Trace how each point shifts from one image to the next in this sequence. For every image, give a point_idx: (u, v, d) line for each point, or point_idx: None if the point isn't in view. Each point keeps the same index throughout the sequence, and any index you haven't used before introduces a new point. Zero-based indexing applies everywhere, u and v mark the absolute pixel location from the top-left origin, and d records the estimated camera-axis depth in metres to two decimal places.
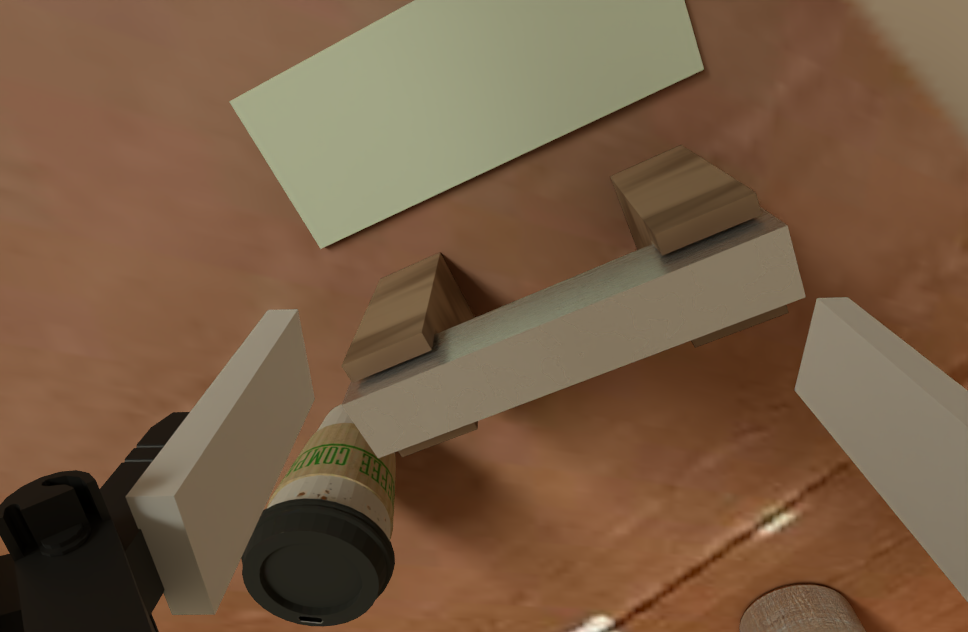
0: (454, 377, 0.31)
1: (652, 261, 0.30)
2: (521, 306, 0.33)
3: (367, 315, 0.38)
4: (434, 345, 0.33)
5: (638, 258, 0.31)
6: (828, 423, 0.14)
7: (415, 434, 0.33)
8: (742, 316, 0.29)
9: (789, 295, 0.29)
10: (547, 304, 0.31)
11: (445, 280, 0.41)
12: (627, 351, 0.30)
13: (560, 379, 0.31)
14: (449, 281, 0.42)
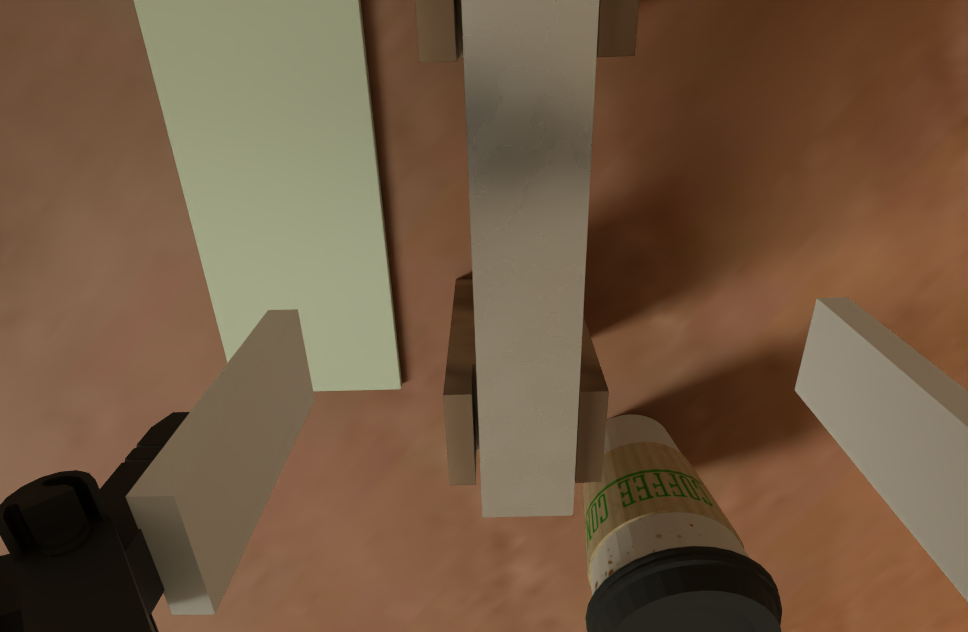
0: (503, 397, 0.23)
1: None
2: None
3: None
4: None
5: None
6: (828, 423, 0.14)
7: (561, 467, 0.25)
8: None
9: None
10: None
11: None
12: (567, 172, 0.19)
13: (568, 278, 0.21)
14: None
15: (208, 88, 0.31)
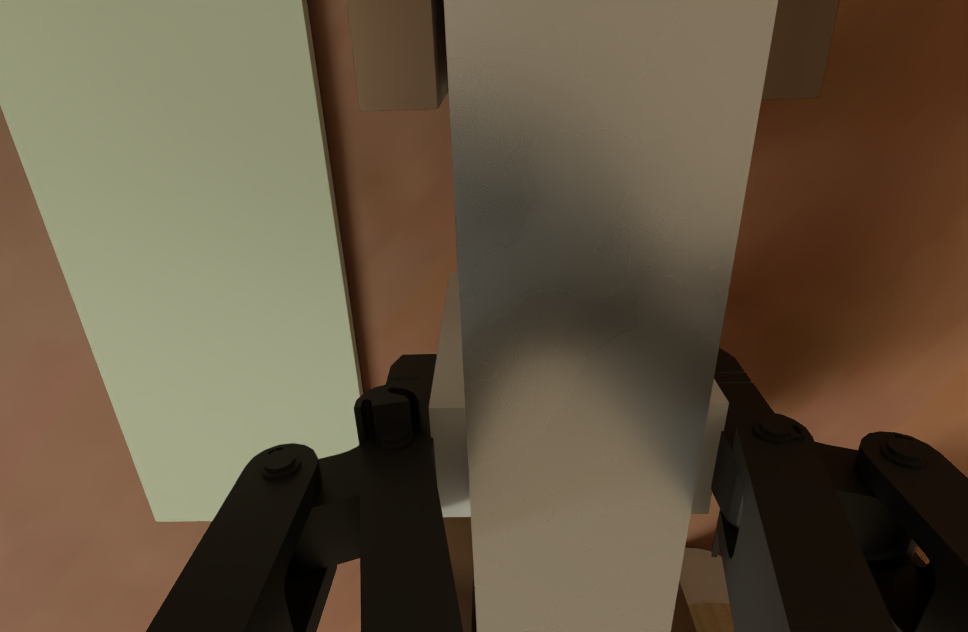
0: None
1: None
2: None
3: None
4: None
5: None
6: None
7: None
8: None
9: None
10: None
11: None
12: (670, 343, 0.09)
13: (656, 522, 0.11)
14: None
15: (83, 122, 0.21)
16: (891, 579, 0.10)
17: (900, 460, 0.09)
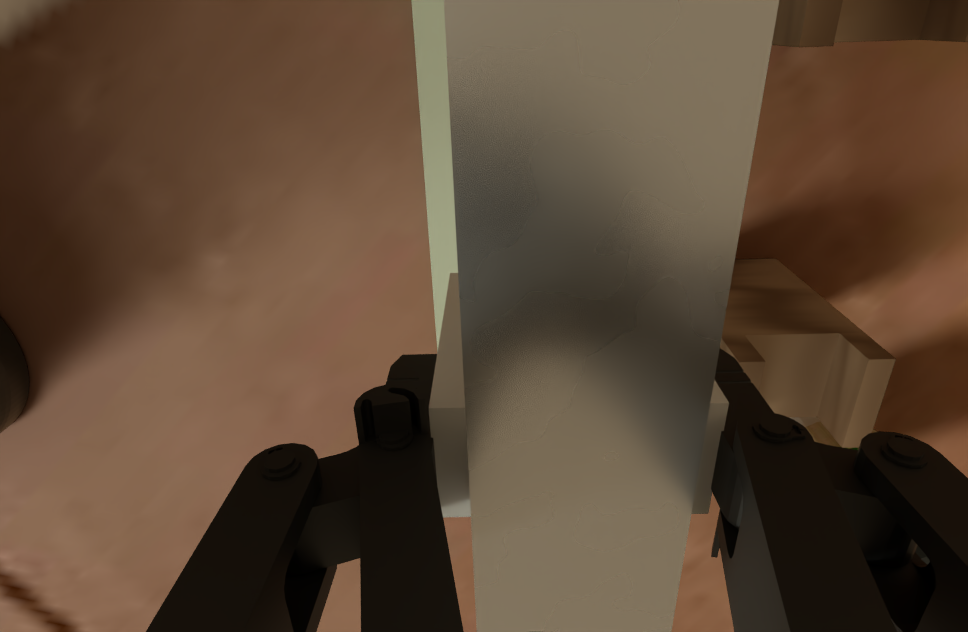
0: None
1: None
2: None
3: None
4: None
5: None
6: None
7: None
8: None
9: None
10: None
11: None
12: (671, 344, 0.09)
13: (657, 523, 0.11)
14: None
15: None
16: (891, 579, 0.10)
17: (900, 460, 0.09)
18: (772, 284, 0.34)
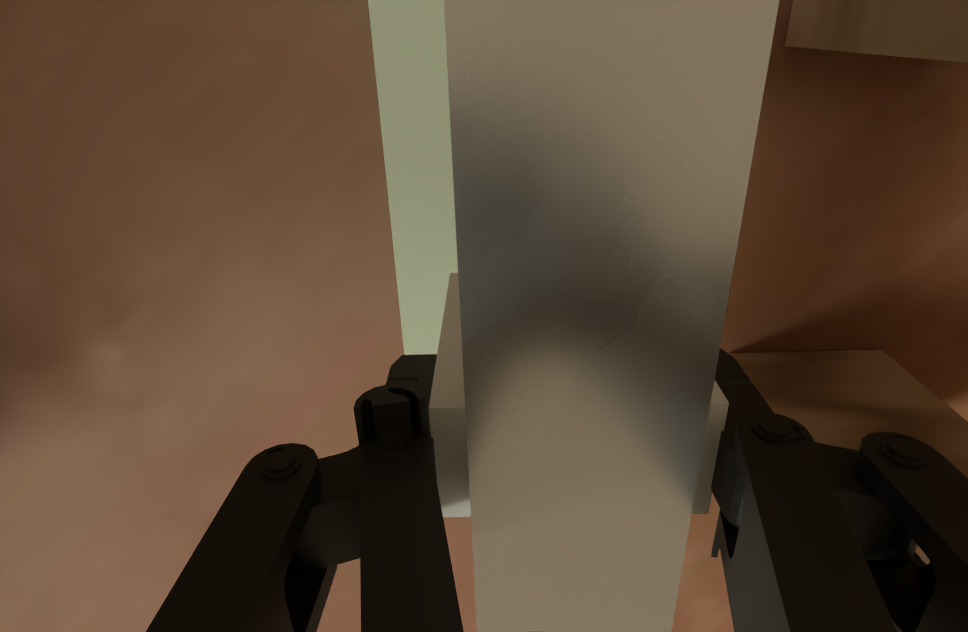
0: None
1: None
2: None
3: None
4: None
5: None
6: None
7: None
8: None
9: None
10: None
11: (780, 382, 0.25)
12: (671, 345, 0.09)
13: (657, 523, 0.11)
14: (783, 371, 0.26)
15: None
16: (891, 579, 0.10)
17: (900, 460, 0.09)
18: (892, 401, 0.24)
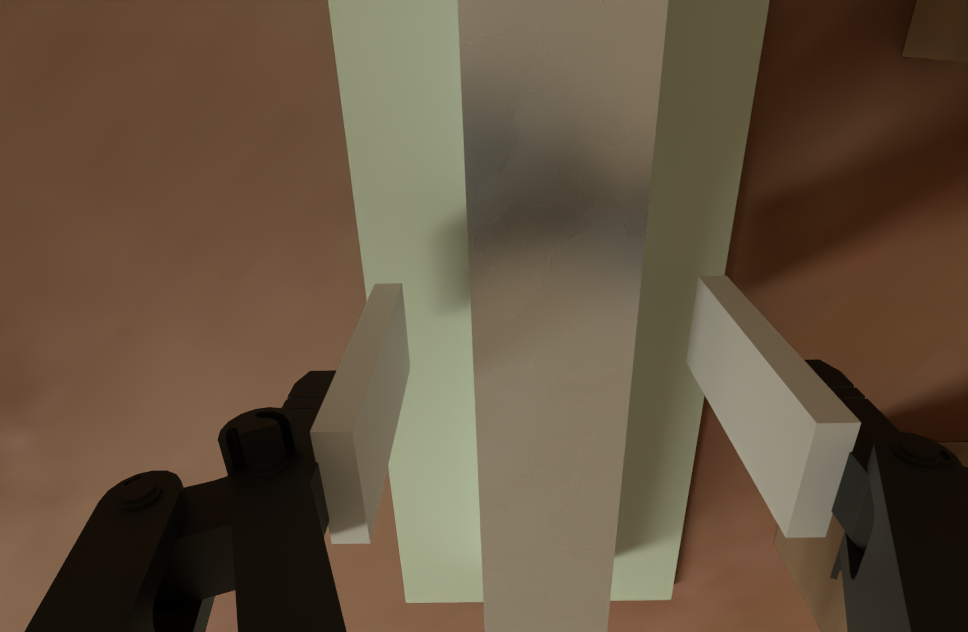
0: (514, 528, 0.17)
1: None
2: None
3: None
4: None
5: None
6: (705, 389, 0.16)
7: (590, 610, 0.19)
8: None
9: None
10: None
11: None
12: (611, 241, 0.13)
13: (608, 382, 0.15)
14: None
15: (444, 135, 0.16)
16: None
17: None
18: None
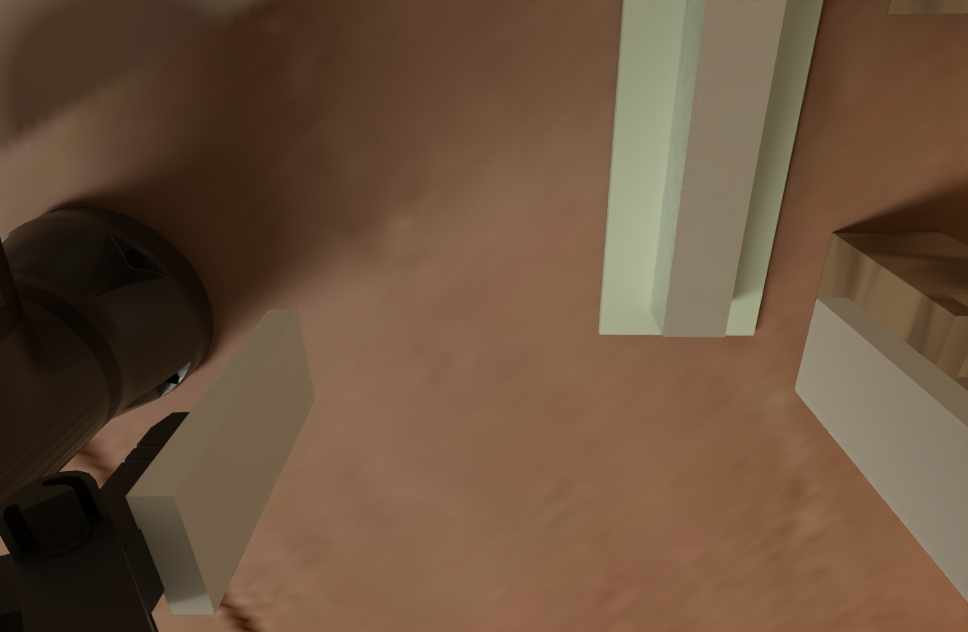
0: (691, 243, 0.36)
1: (692, 29, 0.32)
2: (671, 159, 0.37)
3: None
4: (663, 244, 0.39)
5: (686, 39, 0.34)
6: (828, 423, 0.14)
7: (722, 298, 0.37)
8: None
9: None
10: (679, 137, 0.35)
11: (871, 245, 0.37)
12: (756, 88, 0.32)
13: (746, 159, 0.33)
14: (872, 240, 0.38)
15: (667, 50, 0.35)
16: None
17: None
18: (950, 254, 0.36)
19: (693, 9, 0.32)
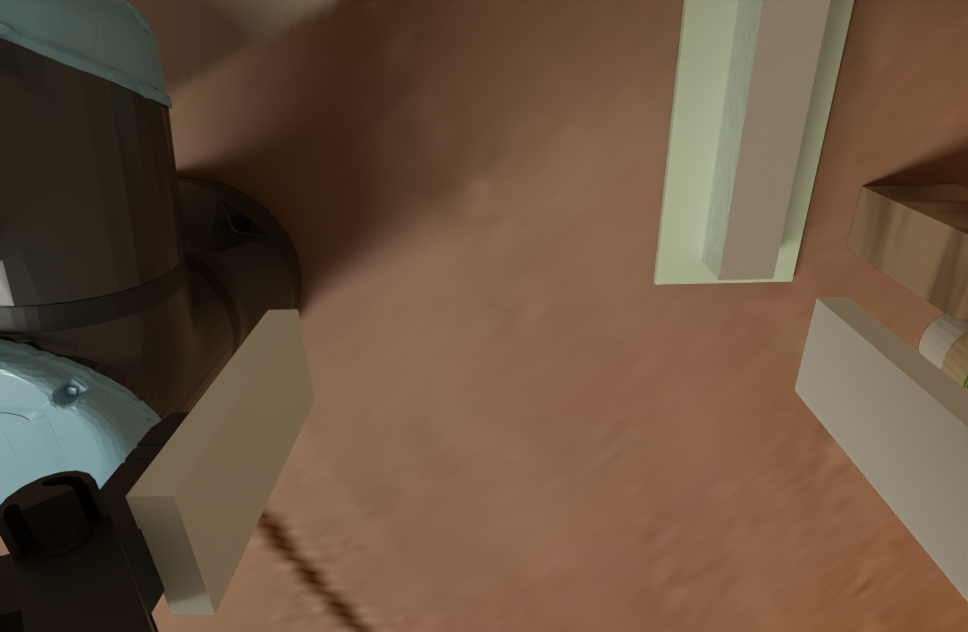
0: (746, 194, 0.41)
1: (750, 5, 0.37)
2: (726, 122, 0.42)
3: (896, 275, 0.41)
4: (717, 198, 0.44)
5: (742, 14, 0.39)
6: (828, 423, 0.14)
7: (772, 243, 0.42)
8: None
9: None
10: (735, 101, 0.40)
11: (898, 194, 0.43)
12: (806, 54, 0.37)
13: (797, 117, 0.39)
14: (898, 191, 0.44)
15: (724, 24, 0.40)
16: None
17: None
18: (967, 199, 0.41)
19: None
